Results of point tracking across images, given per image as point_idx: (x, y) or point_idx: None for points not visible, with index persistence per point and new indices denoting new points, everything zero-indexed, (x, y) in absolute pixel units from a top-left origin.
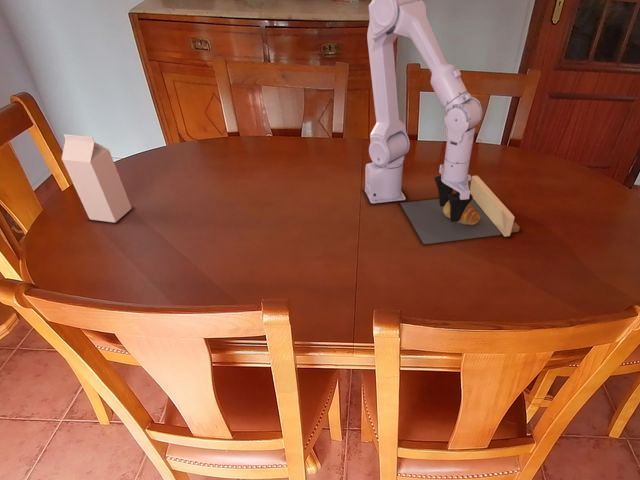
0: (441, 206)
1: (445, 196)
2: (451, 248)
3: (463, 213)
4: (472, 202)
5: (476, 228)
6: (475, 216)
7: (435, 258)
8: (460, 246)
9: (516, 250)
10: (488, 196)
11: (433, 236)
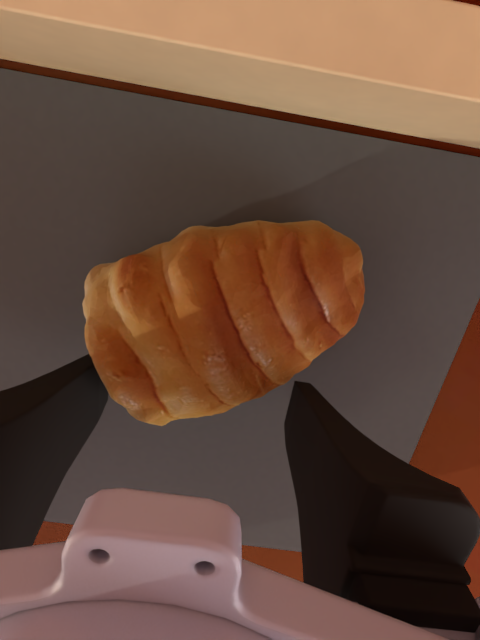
0: (107, 395)
1: (76, 420)
2: (459, 483)
3: (292, 362)
4: (49, 105)
5: (382, 286)
6: (353, 293)
7: (477, 560)
8: (471, 444)
9: None
10: (230, 61)
11: None
